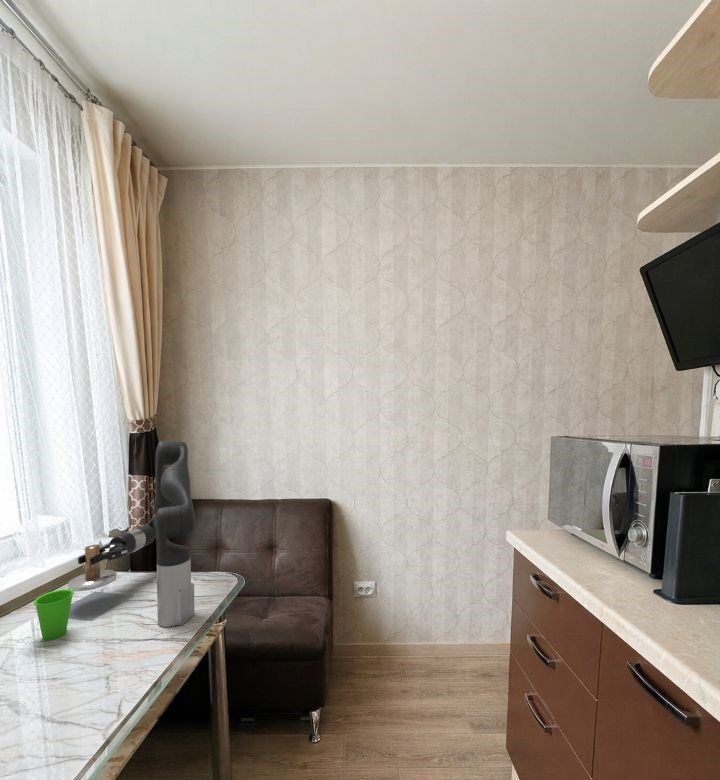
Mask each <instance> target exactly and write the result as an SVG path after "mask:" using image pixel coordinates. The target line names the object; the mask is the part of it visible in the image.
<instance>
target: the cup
mask: <svg viewBox="0 0 720 780" xmlns="http://www.w3.org/2000/svg"><path fill="white" fill-rule="evenodd" d="M74 594H75V591H73V590H71V589H68V588H63V589H57V590H53V591H50V592H47V593H43V594H42V595H40V596H38V597H37V598H35V599H34V600H33V605H34V606H35V608H36V613H37V618H38V623H39V626H40V628H39V629H40V631H41V637H42V640H43V641H50V640H55V639H58V638H60V637H62V636H64V635H65V634H66V633H67V629H68V623H69V619H70V618H69V612H70V607H71V604H72V600H73V596H74Z"/></svg>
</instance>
